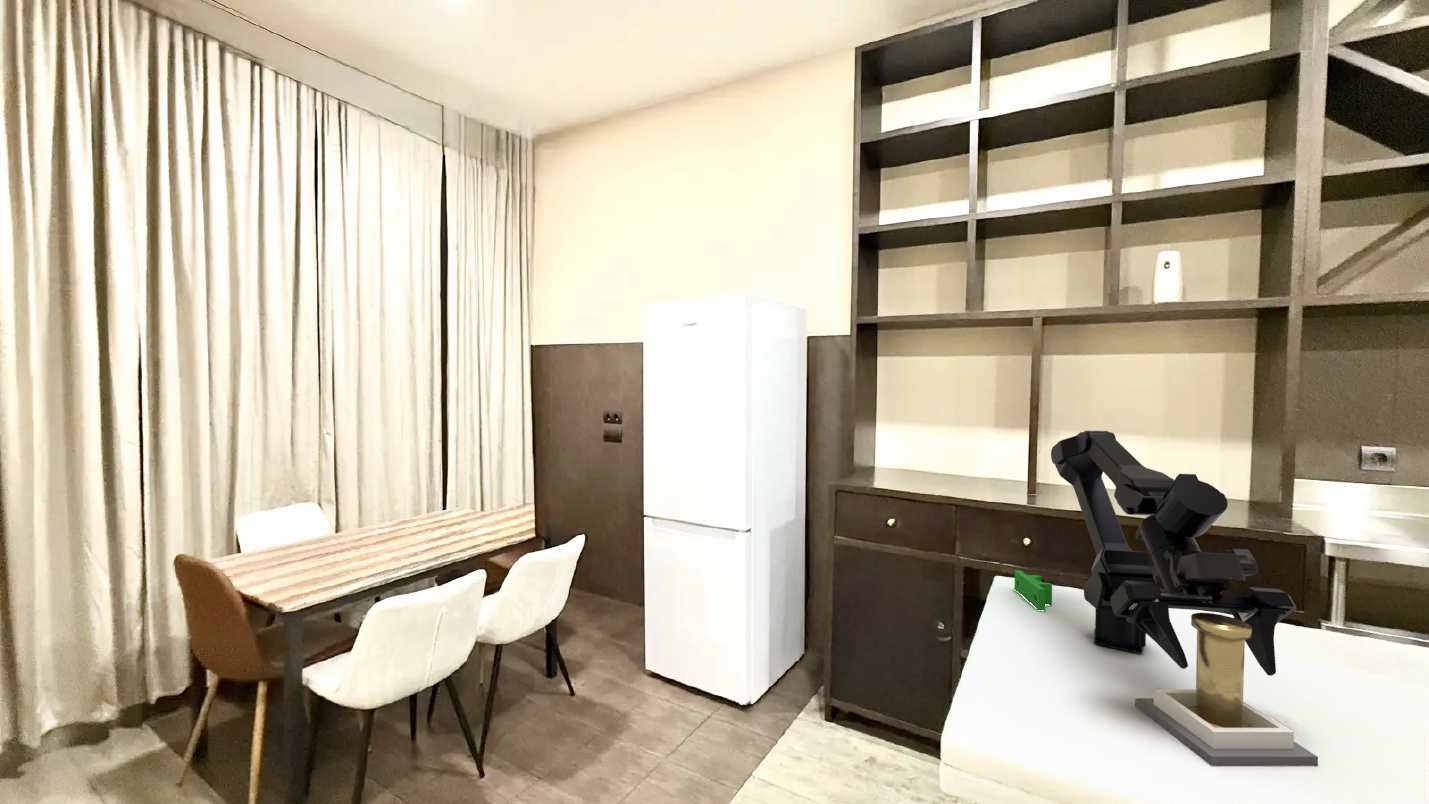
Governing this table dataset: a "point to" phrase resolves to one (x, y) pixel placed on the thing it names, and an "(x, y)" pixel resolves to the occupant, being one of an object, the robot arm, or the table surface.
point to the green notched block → (1033, 589)
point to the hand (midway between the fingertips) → (1228, 671)
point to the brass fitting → (1220, 669)
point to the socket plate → (1225, 733)
